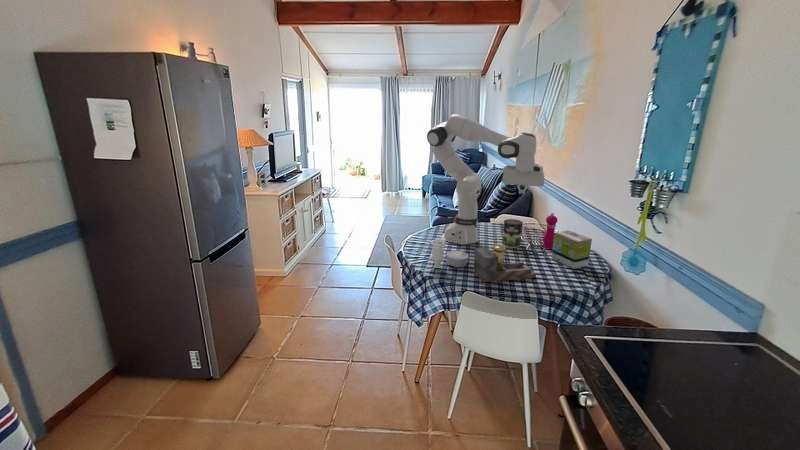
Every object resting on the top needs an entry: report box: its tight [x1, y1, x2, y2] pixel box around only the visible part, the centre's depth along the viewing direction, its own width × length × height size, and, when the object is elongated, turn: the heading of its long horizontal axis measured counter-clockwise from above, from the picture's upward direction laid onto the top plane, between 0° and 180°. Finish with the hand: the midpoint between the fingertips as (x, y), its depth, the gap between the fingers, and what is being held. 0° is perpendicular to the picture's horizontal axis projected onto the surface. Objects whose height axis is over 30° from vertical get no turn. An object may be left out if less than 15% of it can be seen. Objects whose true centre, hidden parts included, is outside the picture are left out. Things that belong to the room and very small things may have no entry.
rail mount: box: [473, 247, 537, 283], centre depth 174 cm, size 26×12×12 cm, turn 99°
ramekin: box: [445, 250, 470, 268], centre depth 188 cm, size 11×11×5 cm
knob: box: [492, 244, 507, 271], centre depth 173 cm, size 6×6×12 cm
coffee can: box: [501, 218, 524, 249], centre depth 213 cm, size 10×10×14 cm
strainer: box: [430, 238, 446, 268], centre depth 182 cm, size 7×7×15 cm
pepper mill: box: [542, 212, 558, 250], centre depth 208 cm, size 7×7×20 cm
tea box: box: [551, 229, 593, 270], centre depth 188 cm, size 15×10×15 cm, turn 23°
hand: (521, 193), depth 190 cm, fingers closed
